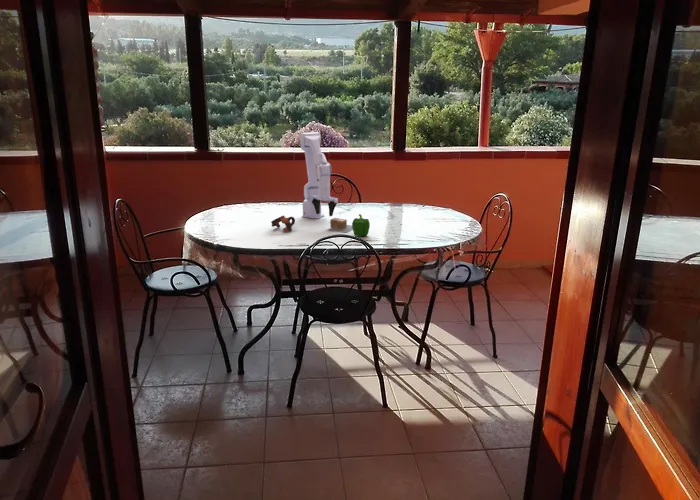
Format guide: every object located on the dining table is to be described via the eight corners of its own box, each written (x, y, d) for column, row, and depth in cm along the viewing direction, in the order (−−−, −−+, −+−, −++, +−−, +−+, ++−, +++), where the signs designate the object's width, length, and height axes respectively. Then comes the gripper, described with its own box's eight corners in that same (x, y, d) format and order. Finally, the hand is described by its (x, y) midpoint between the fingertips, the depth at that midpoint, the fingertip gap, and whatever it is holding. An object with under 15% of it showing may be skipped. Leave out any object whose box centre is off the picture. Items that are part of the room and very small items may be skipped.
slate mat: (328, 230, 269) (328, 229, 269) (340, 224, 279) (340, 223, 279) (346, 233, 264) (346, 232, 264) (357, 226, 274) (357, 226, 274)
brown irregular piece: (280, 235, 262) (272, 220, 262) (274, 238, 271) (266, 224, 270) (301, 225, 268) (293, 210, 267) (294, 229, 276) (286, 214, 276)
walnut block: (330, 219, 271) (342, 221, 268) (334, 217, 275) (346, 219, 272) (330, 227, 273) (342, 229, 270) (334, 225, 276) (346, 227, 273)
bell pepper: (368, 238, 256) (368, 218, 253) (350, 237, 258) (351, 217, 254) (370, 233, 264) (370, 213, 261) (353, 232, 265) (353, 212, 262)
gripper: (307, 188, 271) (308, 214, 276) (332, 191, 265) (332, 218, 269) (315, 185, 277) (315, 211, 282) (340, 188, 271) (340, 215, 275)
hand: (324, 214), depth 276 cm, fingers open, 7 cm apart
